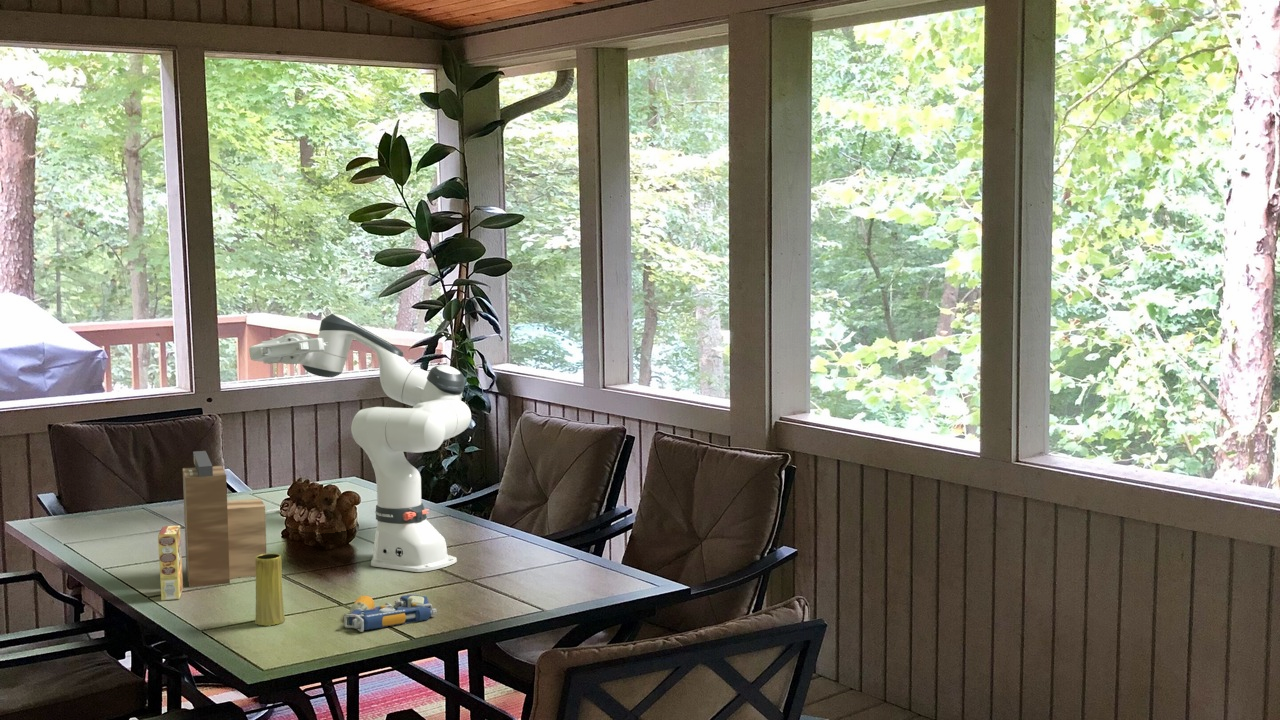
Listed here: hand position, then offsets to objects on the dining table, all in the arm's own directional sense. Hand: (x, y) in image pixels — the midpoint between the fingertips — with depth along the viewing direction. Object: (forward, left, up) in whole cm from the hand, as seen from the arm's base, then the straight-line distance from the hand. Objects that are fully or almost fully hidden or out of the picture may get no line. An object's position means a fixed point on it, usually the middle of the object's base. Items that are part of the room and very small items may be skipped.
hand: (280, 348), depth 332 cm
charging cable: (+28, -16, -53) cm, 62 cm away
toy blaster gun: (-80, +34, -53) cm, 102 cm away
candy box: (-27, +52, -52) cm, 78 cm away
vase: (-62, +51, -52) cm, 96 cm away
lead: (-16, +36, -26) cm, 47 cm away
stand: (-22, +34, -52) cm, 66 cm away
